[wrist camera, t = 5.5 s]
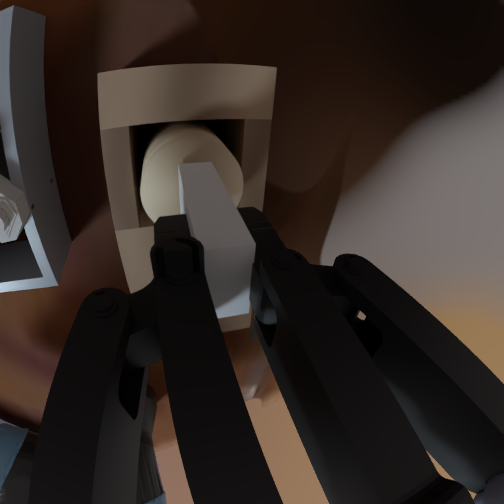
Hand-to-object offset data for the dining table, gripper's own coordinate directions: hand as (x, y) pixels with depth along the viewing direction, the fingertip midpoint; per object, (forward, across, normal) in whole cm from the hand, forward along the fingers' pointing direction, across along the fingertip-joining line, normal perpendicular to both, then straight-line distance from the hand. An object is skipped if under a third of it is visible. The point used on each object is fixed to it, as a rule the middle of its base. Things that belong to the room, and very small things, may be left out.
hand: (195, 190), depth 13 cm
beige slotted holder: (+10, 0, -4) cm, 11 cm away
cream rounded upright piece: (+8, 0, 0) cm, 8 cm away
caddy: (+10, -18, +2) cm, 20 cm away
